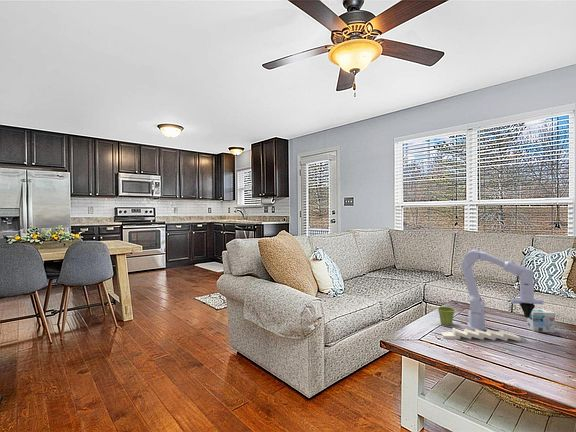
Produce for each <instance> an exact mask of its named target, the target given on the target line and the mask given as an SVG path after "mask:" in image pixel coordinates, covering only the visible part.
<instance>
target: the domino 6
mask: <svg viewBox="0 0 576 432" xmlns="http://www.w3.org/2000/svg"><path fill="white" fill-rule="evenodd" d="M498 333H499V334H501V335H502V336H503V337H506V338H509V339H513V340H516V341H519V342H520V340H521V338H519V337H520V336H518V335H517V334H514V333H512V332H511V333H510V332H508V331H505V330H500V329H499V330H498Z"/></svg>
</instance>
